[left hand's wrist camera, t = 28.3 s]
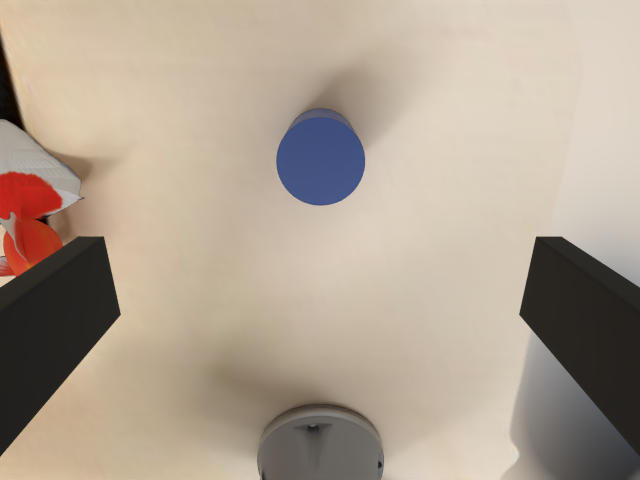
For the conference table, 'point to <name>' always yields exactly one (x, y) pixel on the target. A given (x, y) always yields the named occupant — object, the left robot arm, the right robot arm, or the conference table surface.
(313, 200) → the can
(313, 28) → the conference table surface
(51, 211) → the fish
